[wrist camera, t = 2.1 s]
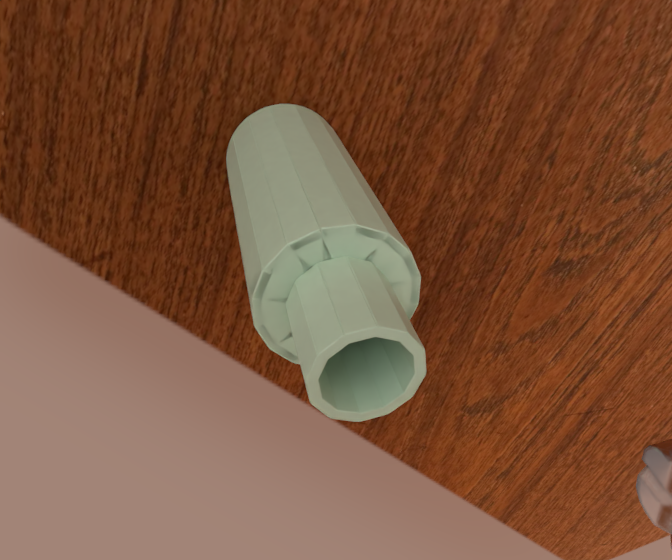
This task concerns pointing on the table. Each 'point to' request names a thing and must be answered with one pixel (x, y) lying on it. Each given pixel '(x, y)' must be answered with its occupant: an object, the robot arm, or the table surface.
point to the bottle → (324, 264)
